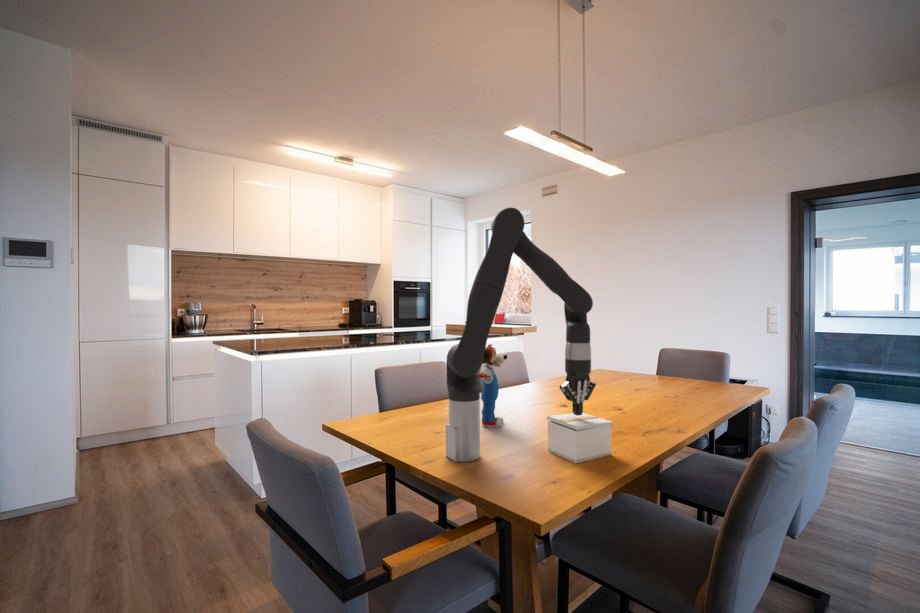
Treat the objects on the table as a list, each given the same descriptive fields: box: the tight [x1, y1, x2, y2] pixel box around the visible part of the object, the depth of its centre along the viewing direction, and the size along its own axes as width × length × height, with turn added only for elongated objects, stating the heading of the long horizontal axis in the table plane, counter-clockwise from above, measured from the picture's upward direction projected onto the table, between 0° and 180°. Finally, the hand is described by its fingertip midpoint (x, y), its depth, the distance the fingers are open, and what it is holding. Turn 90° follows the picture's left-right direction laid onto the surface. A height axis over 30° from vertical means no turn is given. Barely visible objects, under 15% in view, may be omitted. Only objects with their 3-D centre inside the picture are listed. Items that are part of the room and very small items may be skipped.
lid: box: [546, 412, 613, 430], centre depth 130 cm, size 14×13×1 cm
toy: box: [477, 344, 508, 428], centre depth 160 cm, size 34×10×30 cm, turn 168°
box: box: [547, 420, 612, 464], centre depth 130 cm, size 14×12×9 cm
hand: (577, 414), depth 130 cm, fingers closed
